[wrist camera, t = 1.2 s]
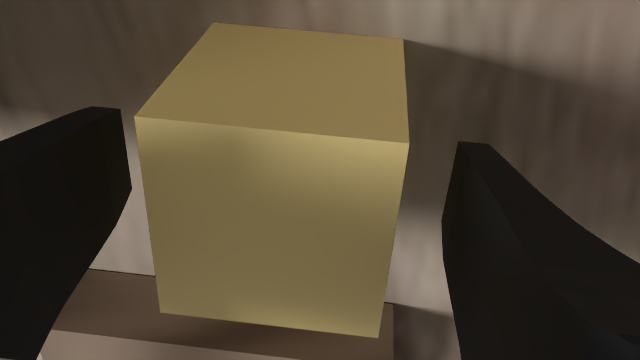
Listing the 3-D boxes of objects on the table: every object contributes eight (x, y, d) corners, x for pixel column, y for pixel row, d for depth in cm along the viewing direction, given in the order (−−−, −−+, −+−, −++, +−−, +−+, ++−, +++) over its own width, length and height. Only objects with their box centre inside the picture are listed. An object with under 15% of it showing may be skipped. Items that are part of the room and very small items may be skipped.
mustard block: (403, 38, 13) (409, 143, 9) (381, 196, 15) (378, 338, 11) (214, 21, 13) (134, 116, 9) (221, 180, 16) (160, 312, 12)
